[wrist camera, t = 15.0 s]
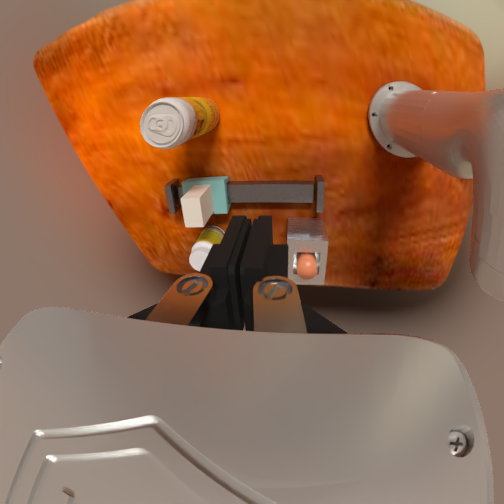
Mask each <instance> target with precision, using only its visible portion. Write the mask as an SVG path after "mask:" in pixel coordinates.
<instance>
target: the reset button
mask: <svg viewBox="0 0 504 504" xmlns="http://www.w3.org/2000/svg"><path fill="white" fill-rule="evenodd" d="M297 274H298V276H299V277H300V278H302V279H312V278H313V277H315V276H316V274H317V263H316V255H315V253H309V252H298V253H297Z"/></svg>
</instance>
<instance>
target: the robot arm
mask: <svg viewBox="0 0 504 504" xmlns="http://www.w3.org/2000/svg"><path fill="white" fill-rule="evenodd" d="M388 87H390V90H389V89H388ZM373 113H374V116H372V114H373ZM368 120H369V125H370V128H371V131H372V133H373V135H374V137H375V139H376V140H377V142H378V143H379V144H380V145H381V146H382V147H383V148H384V149H385V150H387V151H388V152H390V153H392V154H394V155H396V156H399V157H404V158H412V157H416V156H417V157H419V158H421V159H423V160H425V161H426V162H428V163H430V164H432V165H433V166H435V167H437V168H439V169H440V170H442V171H444V172H445V173H447V174H449V175H451V176H453V177H457V178H462V179H468V178H473V216H472V228H471V240H470V251H469V262H470V269H471V273H472V275H473V277H474V280H475V281H476V283H477V284H478V285H479V286H480V287H481V289H482V290H484V291H485V292H486V293H487V294H489V295H490V296H492V297H494V298H496V299H498V300H500V301H502V302H504V89H496V90H489V91H482V92H454V91H429V90H422V89H420V88H419V87H417V86H416V85H414V84H411V83H408V82H402V81H397V82H391V83H387V84H385V85H383V86H382V87H380V88H379V89H378V90H377V91H376V92H375V94H374V95H373V97H372V99H371V101H370V104H369V109H368ZM388 144H389V147H387V145H388ZM244 323H245V326H246V331H243V328H244ZM0 504H494V485H493V470H492V462H491V454H490V448H489V442H488V437H487V432H486V427H485V422H484V418H483V414H482V411H481V408H480V404H479V401H478V398H477V395H476V392H475V390H474V387H473V385H472V382H471V380H470V378H469V376H468V373H467V372H466V369H465V367H464V366H463V364H462V363H461V361H460V360H459V358H458V357H457V356H456V355H455V354H454V352H453V351H451V350H450V349H449V348H447V347H446V346H444V345H442V344H440V343H437V342H434V341H432V340H428V339H424V338H420V337H416V336H409V335H402V334H385V333H383V334H382V333H381V334H349V333H347V332H345V331H343V330H342V329H341V328H339V327H338V326H336V325H335V324H333V323H332V322H330V321H329V320H327V319H326V318H324V317H323V316H321V315H320V314H318V313H317V312H315V311H314V310H312V309H311V308H309V307H308V306H306V305H305V304H304V303H302V302H301V301H300V298H299V294H298V290H297V286H296V284H295V283H294V282H293V281H292V280H290V279H288V245H273V235H272V216H259V217H258V219H254V221H253V224H252V226H251V219H247V218H246V216H233V217H232V219H231V221H230V223H229V225H228V228H227V230H226V232H225V234H224V236H223V238H222V240H221V243H220V244H213V246H212V247H211V249H210V252H209V254H208V256H207V258H206V260H205V262H204V264H203V266H202V268H201V270H200V272H199V273H193V274H188V275H185V276H182V277H181V278H179V279H178V280H177V281H176V282H175V283H174V284H173V285H172V286H171V288H170V289H169V290H168V291H167V293H166V294H165V295H164V296H163V298H162V299H161V300H160V302H159V303H158V304H155V305H153V306H151V307H149V308H147V309H144V310H142V311H140V312H138V313H136V314H133V315H131V316H129V317H127V318H125V317H118V316H112V315H107V314H101V313H95V312H90V311H84V310H78V309H72V308H63V307H46V308H40V309H36V310H34V311H31V312H29V313H27V314H26V315H25V316H24V317H23V318H22V319H21V320H20V321H19V322H18V323H17V324H16V326H15V327H14V328H13V329H12V330H11V332H10V333H9V334H8V335H7V337H6V338H5V339H4V341H3V342H2V344H1V345H0Z"/></svg>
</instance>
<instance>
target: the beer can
mask: <svg viewBox="0 0 504 504" xmlns="http://www.w3.org/2000/svg"><path fill="white" fill-rule="evenodd" d="M218 121H219V109H218V107H217V105H216V104H215V103H214V102H213V101H212V100H210V99H208V98H204V97H176V98H162V99H158V100H156V101H154V102H153V103H152V104H150V105H149V107H148V108H147V109H146V110H145V111H144V113H143V115H142V117H141V121H140V130H141V134H142V136H143V138H144V139H145V140H146V142H147V143H149V144H150V145H152V146H154V147H157V148H160V149H171V148H174V147H176V146H178V145H180V144H183V143H185V142H187V141H189V140H192V139H194V138H196V137H198V136H201V135H203V134H205V133H208V132H210V131H211V130H213V129H214V128H215V127H216V125H217V123H218Z"/></svg>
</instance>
